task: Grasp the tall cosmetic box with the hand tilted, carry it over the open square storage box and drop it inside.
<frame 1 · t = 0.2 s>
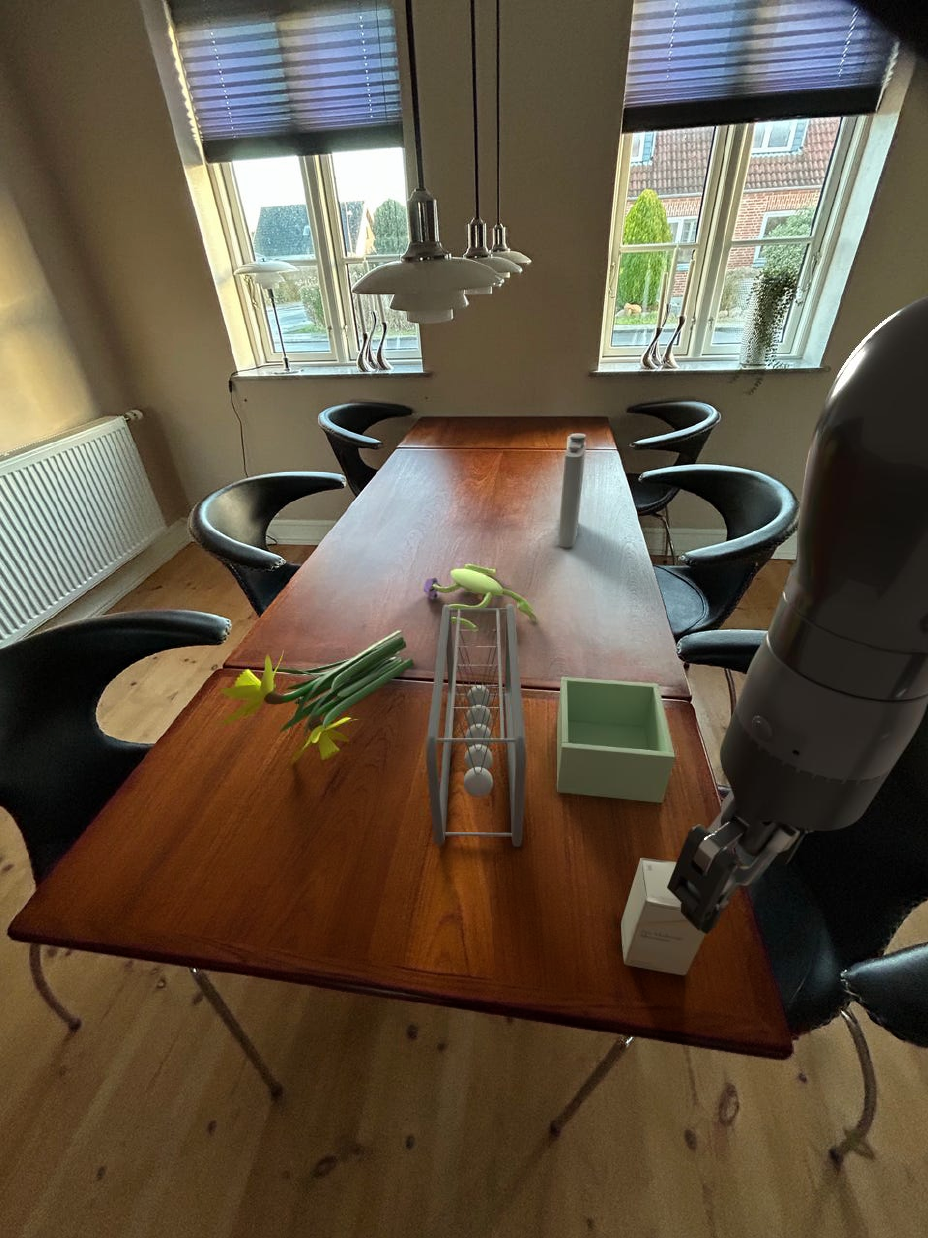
hand: (735, 885, 37), 22 cm above the table, tool pointing down, fingers open, 8 cm apart
daffodil flowers: (342, 713, 85), on the table
flask: (568, 533, 138), on the table
figurine: (476, 606, 110), on the table
open square storage box: (605, 758, 76), on the table
newton's cradle: (479, 758, 76), on the table
cosmetic box: (652, 949, 55), on the table
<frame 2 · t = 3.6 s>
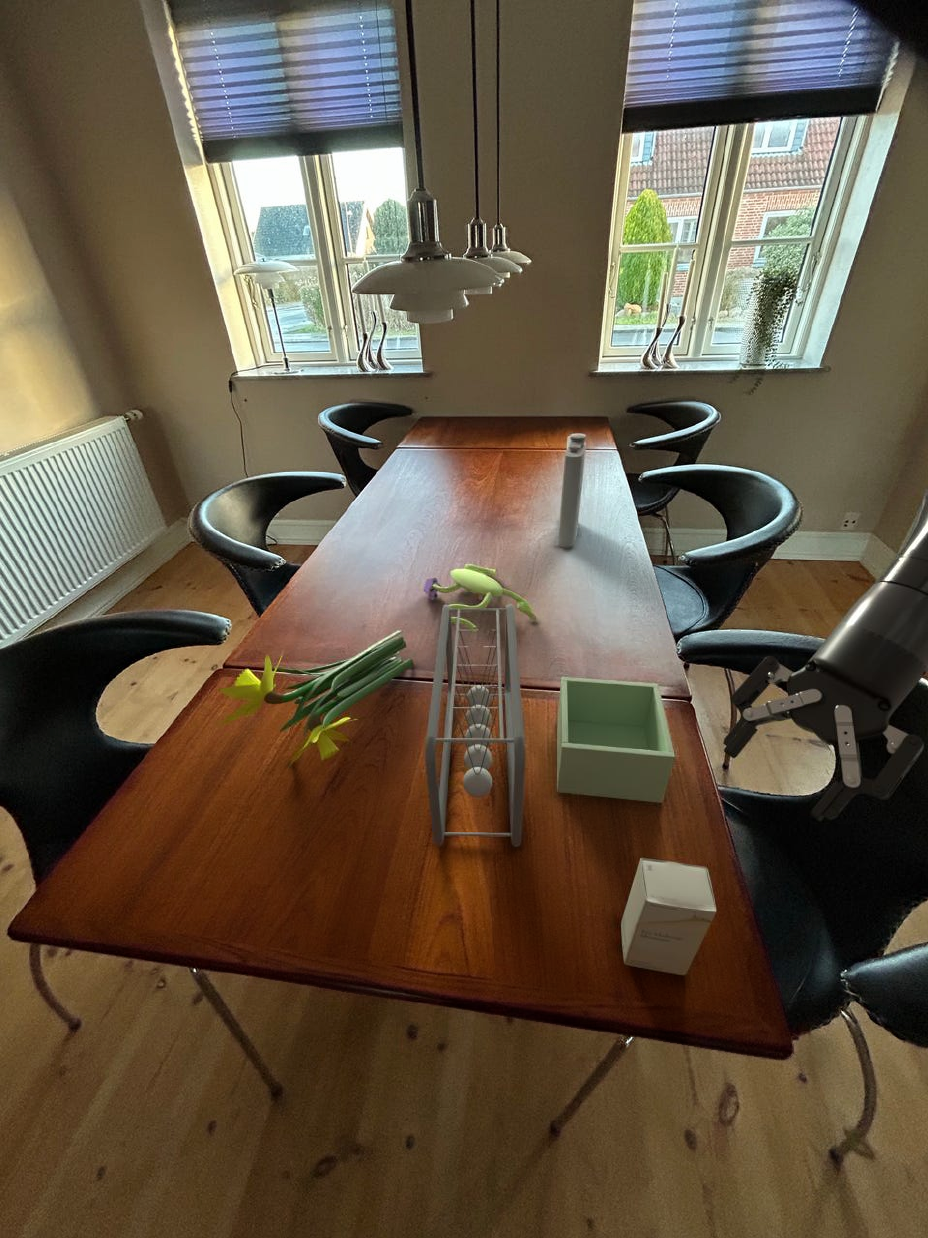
hand: (769, 784, 49), 18 cm above the table, tool tilted 45°, fingers open, 8 cm apart
nothing on the table moved.
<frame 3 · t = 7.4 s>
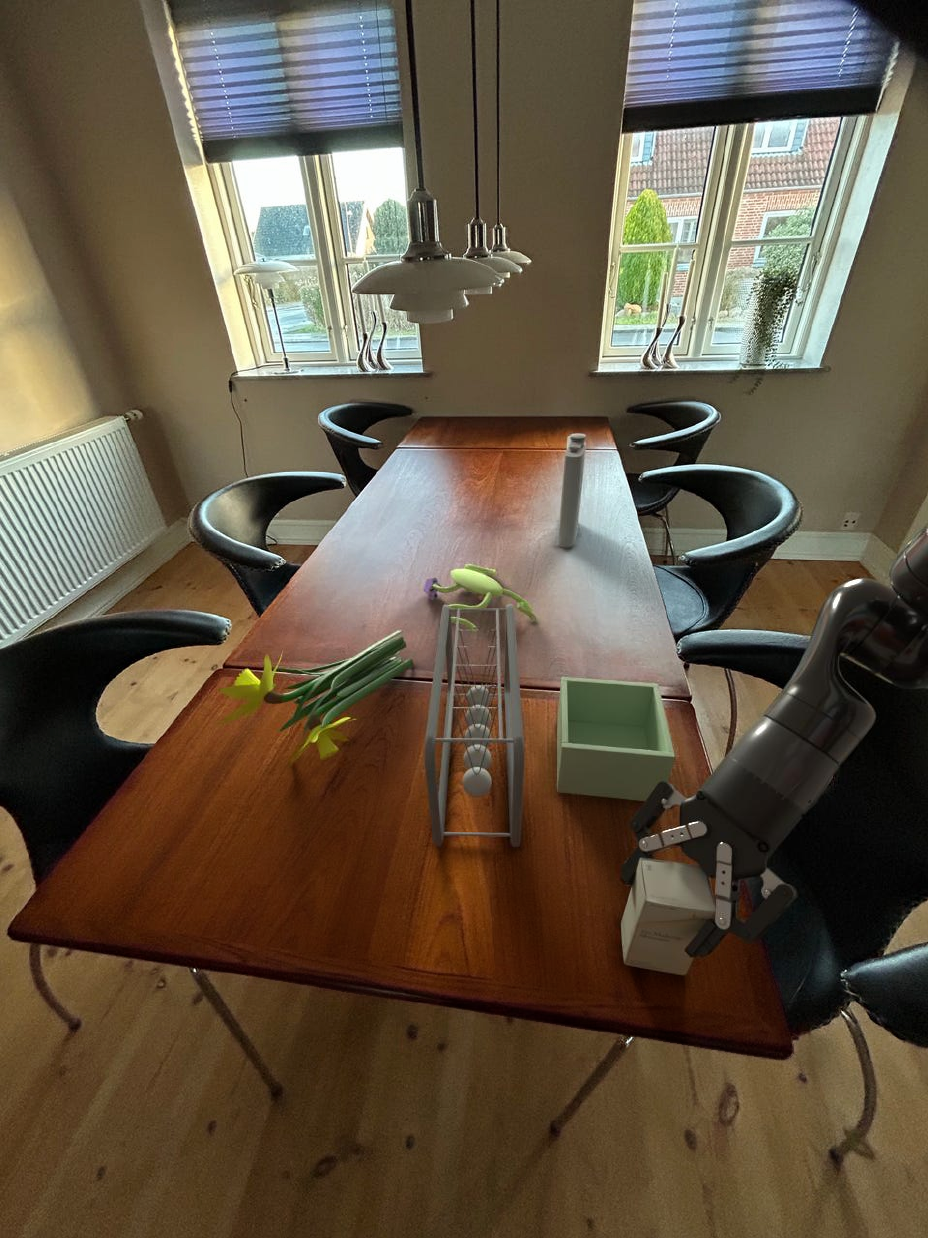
hand: (656, 916, 50), 8 cm above the table, tool tilted 45°, fingers closed on cosmetic box, 7 cm apart
cosmetic box: (652, 949, 55), on the table, touching gripper
everything else where it was.
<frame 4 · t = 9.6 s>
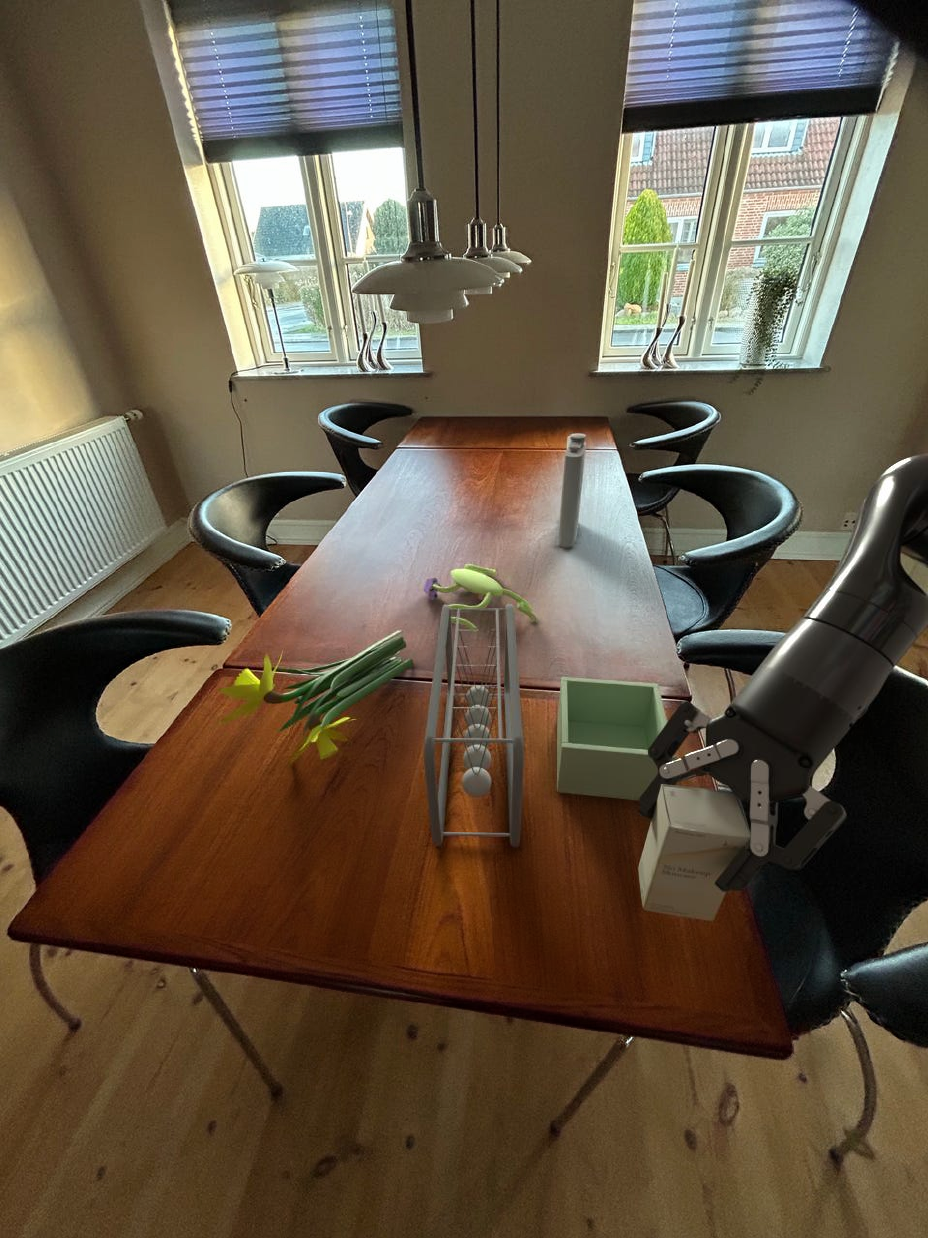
hand: (680, 849, 44), 19 cm above the table, tool tilted 45°, fingers closed on cosmetic box, 7 cm apart
cosmetic box: (674, 894, 49), point 11 cm above the table, touching gripper
everything else where it was.
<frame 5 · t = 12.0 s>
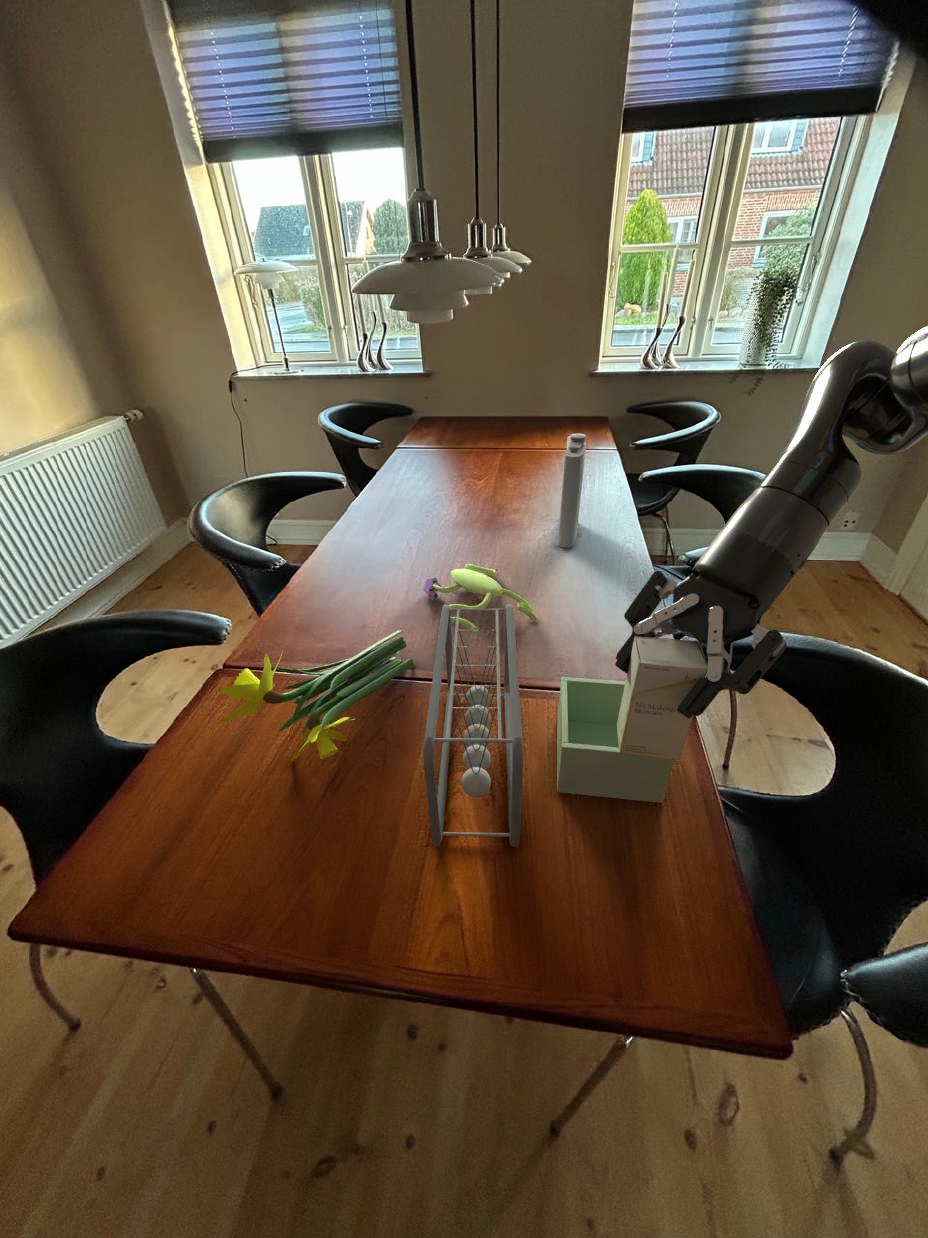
hand: (650, 690, 51), 25 cm above the table, tool tilted 45°, fingers closed on cosmetic box, 7 cm apart
cosmetic box: (647, 742, 56), point 16 cm above the table, touching gripper
everything else where it was.
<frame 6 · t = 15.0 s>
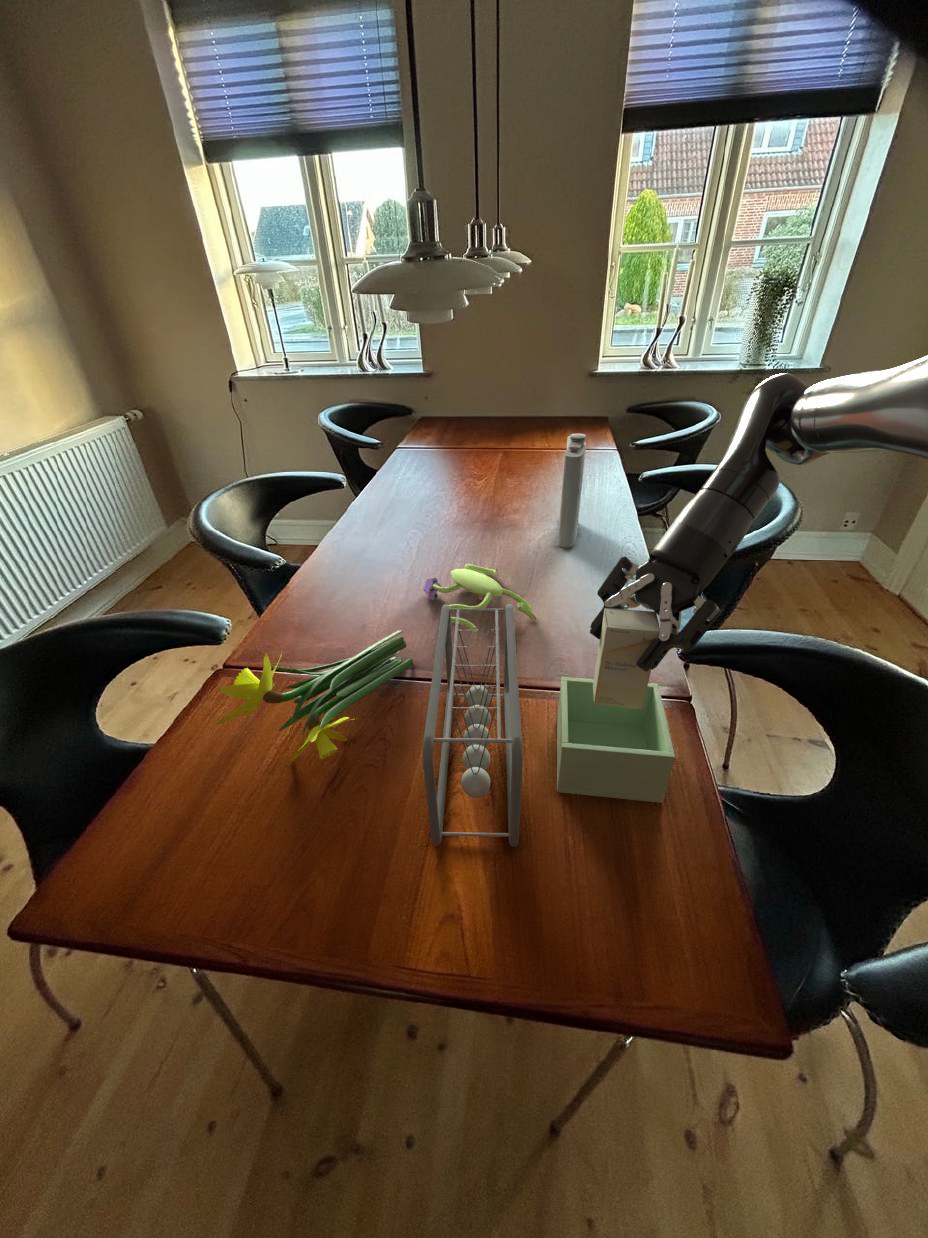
hand: (617, 651, 64), 20 cm above the table, tool tilted 45°, fingers closed on cosmetic box, 7 cm apart
cosmetic box: (617, 697, 69), point 12 cm above the table, touching gripper
everything else where it was.
when the fingers open (16 cm above the table, at t = 16.8 s): cosmetic box drops 7 cm, resting on open square storage box.
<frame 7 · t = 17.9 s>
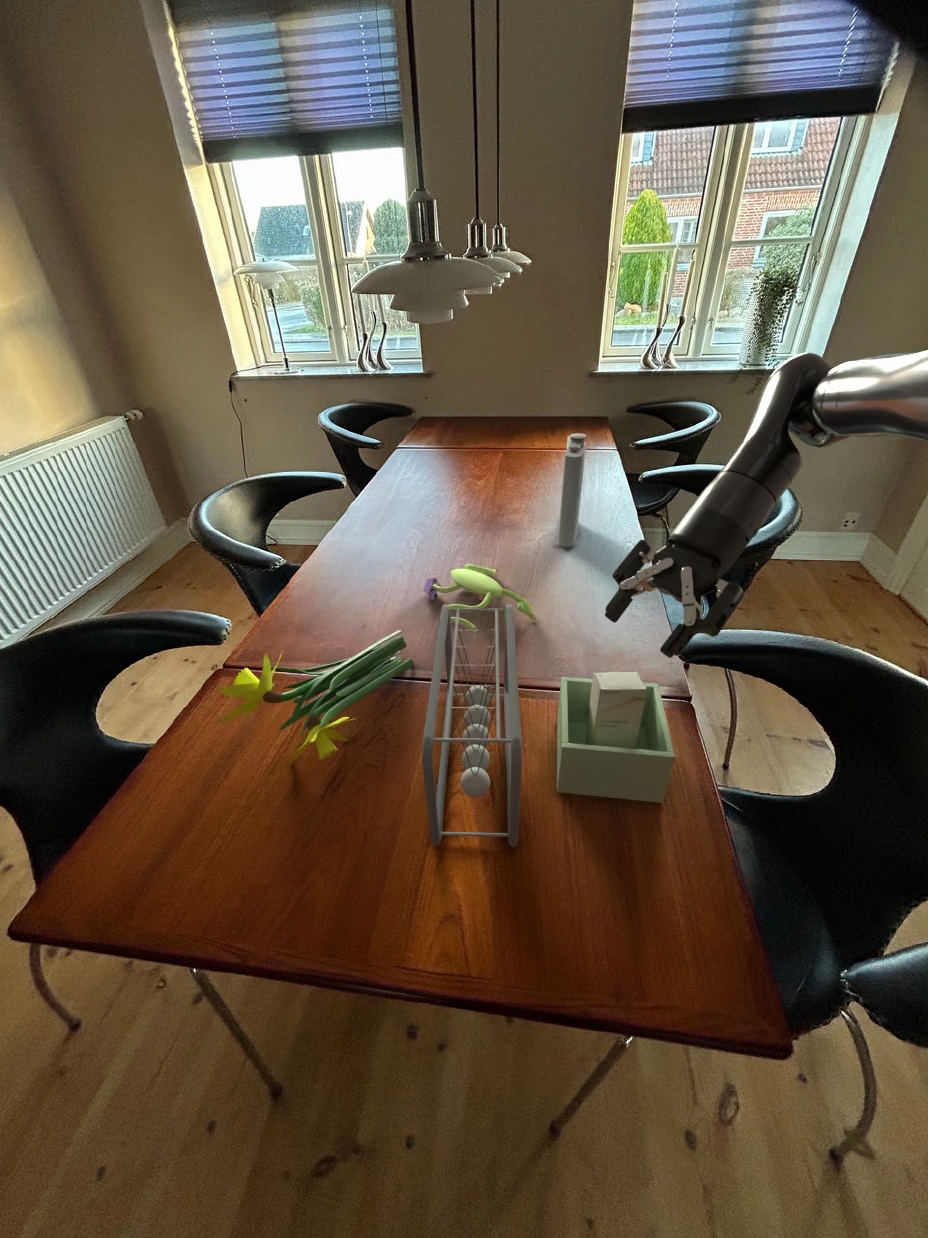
hand: (636, 636, 62), 22 cm above the table, tool tilted 45°, fingers open, 8 cm apart
cosmetic box: (609, 751, 75), point 1 cm above the table, touching open square storage box
everything else where it was.
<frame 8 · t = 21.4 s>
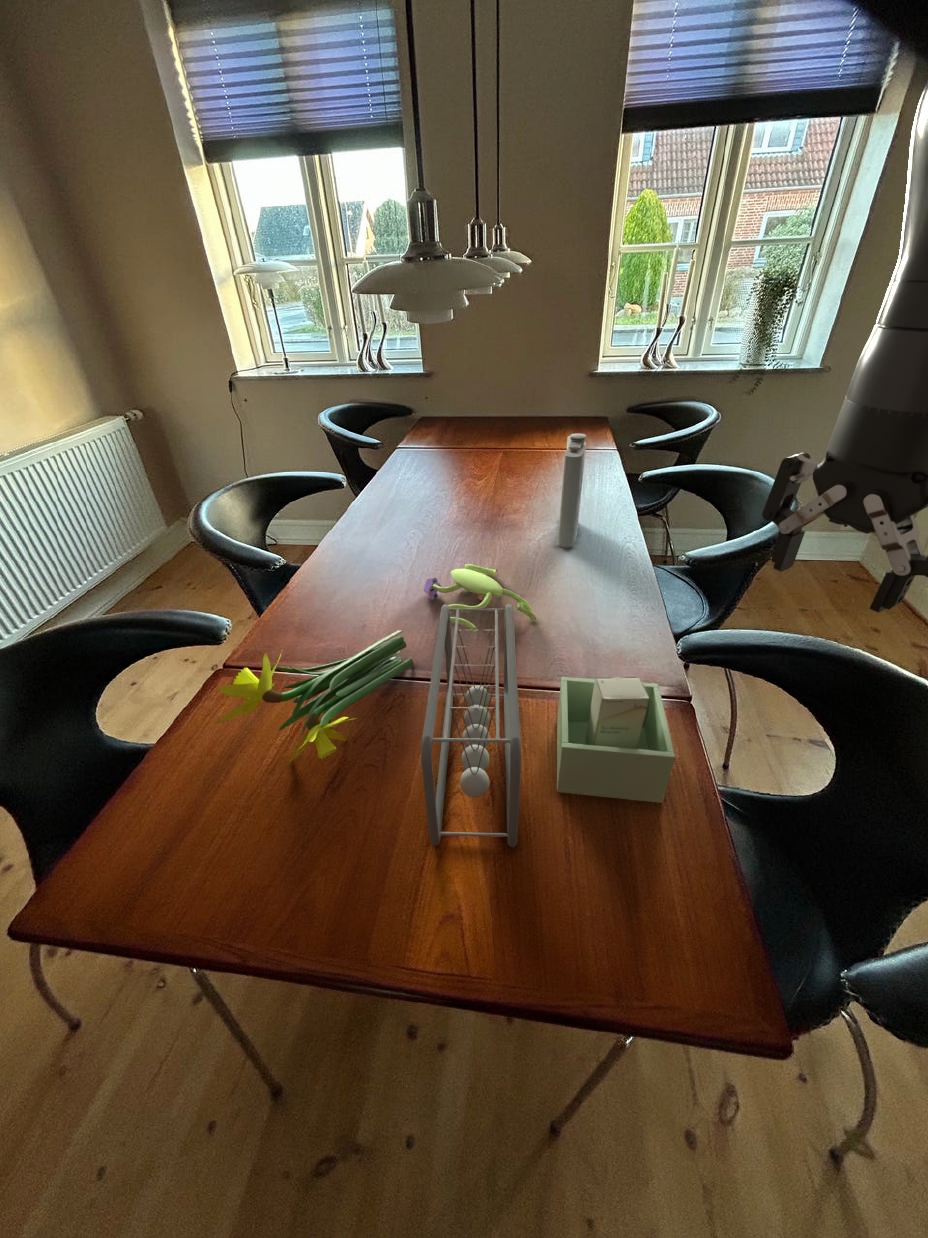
hand: (827, 587, 48), 34 cm above the table, tool pointing down, fingers open, 8 cm apart
at the end: cosmetic box inside the target area in the open square storage box (0.7 cm from its centre), point 0.6 cm above the open square storage box's base; the gripper is holding nothing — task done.
